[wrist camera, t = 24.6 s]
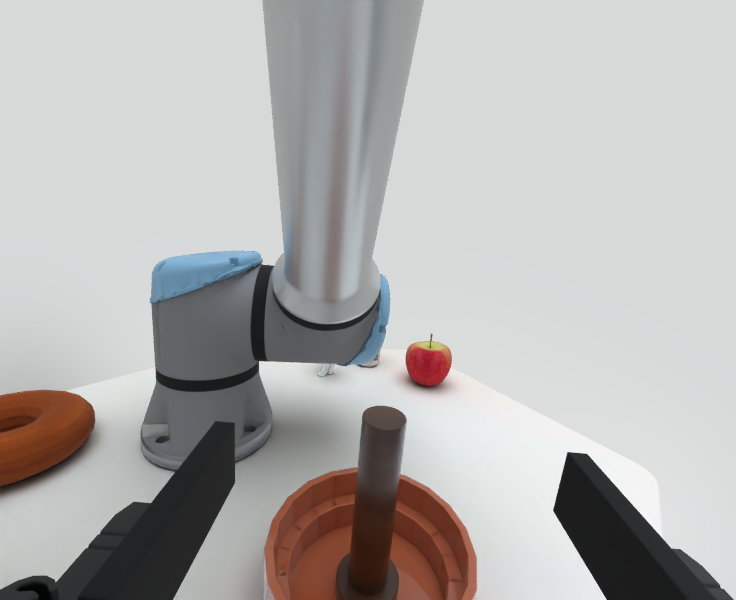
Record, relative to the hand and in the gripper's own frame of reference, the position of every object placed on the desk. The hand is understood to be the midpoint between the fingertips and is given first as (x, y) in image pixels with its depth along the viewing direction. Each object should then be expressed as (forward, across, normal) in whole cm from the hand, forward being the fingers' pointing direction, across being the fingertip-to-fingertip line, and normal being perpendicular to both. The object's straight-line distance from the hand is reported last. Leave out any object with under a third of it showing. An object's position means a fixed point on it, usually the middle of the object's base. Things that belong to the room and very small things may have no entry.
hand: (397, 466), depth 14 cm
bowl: (+10, 0, -19) cm, 21 cm away
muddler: (+9, 0, -19) cm, 21 cm away
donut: (+21, -39, -20) cm, 49 cm away
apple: (+49, +10, -20) cm, 54 cm away
